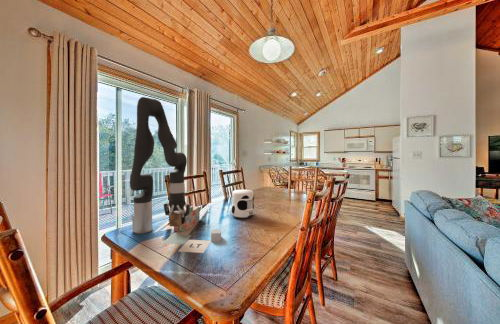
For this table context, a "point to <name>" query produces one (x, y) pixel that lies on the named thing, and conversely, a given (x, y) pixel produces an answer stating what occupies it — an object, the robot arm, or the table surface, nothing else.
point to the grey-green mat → (177, 239)
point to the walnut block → (175, 219)
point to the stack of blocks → (189, 219)
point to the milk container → (243, 203)
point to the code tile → (195, 246)
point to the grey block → (215, 235)
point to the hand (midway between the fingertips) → (177, 223)
